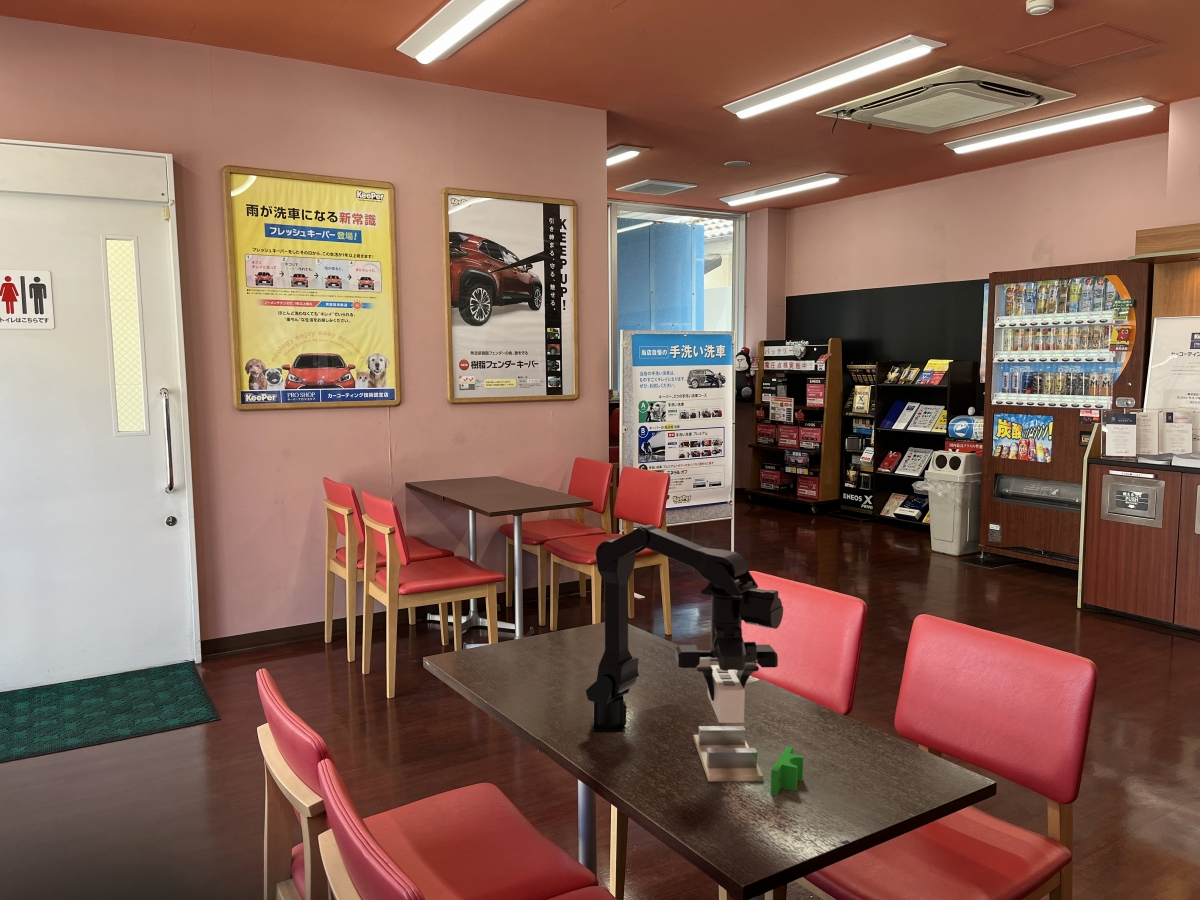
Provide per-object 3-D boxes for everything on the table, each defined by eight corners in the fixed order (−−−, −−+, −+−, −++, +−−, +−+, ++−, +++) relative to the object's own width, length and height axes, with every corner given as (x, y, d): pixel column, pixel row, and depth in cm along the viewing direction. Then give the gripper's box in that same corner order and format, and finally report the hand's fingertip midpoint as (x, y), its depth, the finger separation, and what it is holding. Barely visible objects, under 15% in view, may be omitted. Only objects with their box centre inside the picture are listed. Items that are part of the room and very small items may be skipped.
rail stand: (708, 781, 152) (708, 760, 152) (693, 739, 170) (693, 720, 170) (763, 781, 153) (763, 759, 152) (742, 739, 170) (742, 720, 170)
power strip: (719, 722, 153) (720, 689, 153) (707, 694, 167) (707, 664, 167) (744, 722, 153) (744, 689, 153) (729, 694, 167) (730, 664, 167)
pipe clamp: (791, 800, 146) (792, 774, 146) (770, 795, 148) (771, 769, 148) (806, 773, 156) (807, 749, 156) (786, 768, 158) (787, 745, 158)
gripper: (682, 632, 151) (681, 716, 152) (785, 631, 151) (784, 716, 152) (675, 615, 162) (674, 694, 163) (771, 615, 162) (769, 693, 164)
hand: (725, 699), depth 160 cm, fingers closed on power strip, 4 cm apart
